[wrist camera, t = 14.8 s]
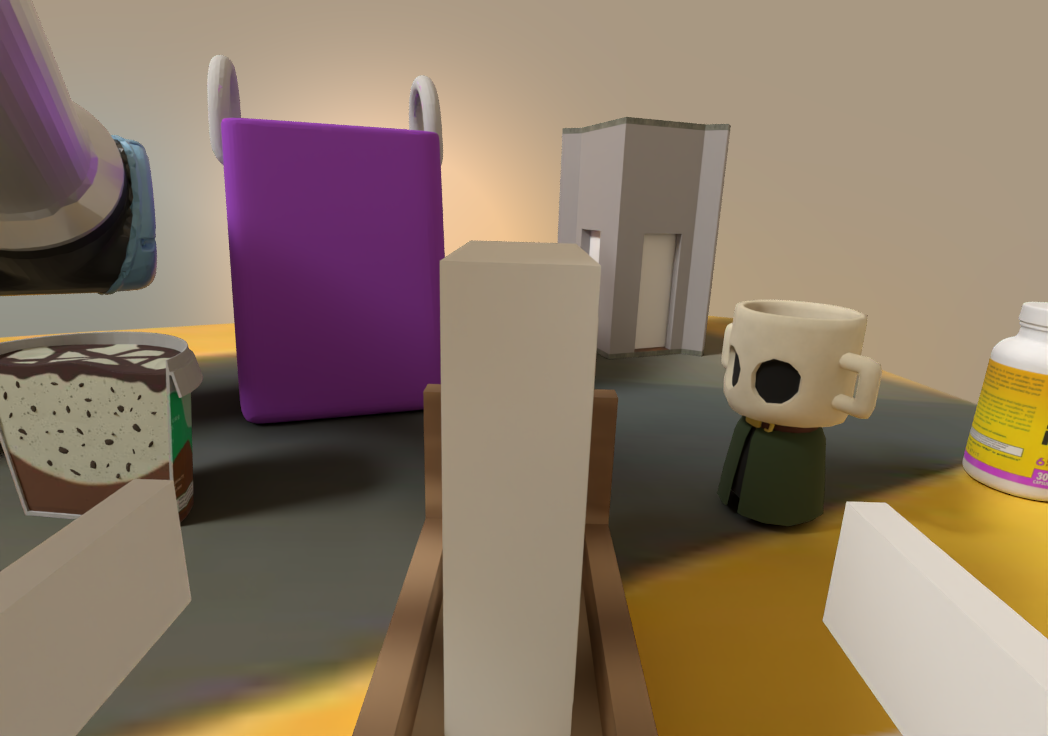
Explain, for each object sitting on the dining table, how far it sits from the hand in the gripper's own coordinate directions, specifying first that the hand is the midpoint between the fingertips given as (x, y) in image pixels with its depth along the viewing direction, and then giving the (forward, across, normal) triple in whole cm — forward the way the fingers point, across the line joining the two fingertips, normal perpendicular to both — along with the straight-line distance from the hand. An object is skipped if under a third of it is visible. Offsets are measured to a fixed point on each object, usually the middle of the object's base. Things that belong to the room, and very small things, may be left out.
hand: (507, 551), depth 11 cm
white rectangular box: (+8, 0, -11) cm, 14 cm away
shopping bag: (+49, -19, -12) cm, 54 cm away
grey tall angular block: (+65, +12, -12) cm, 67 cm away
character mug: (+24, +16, -12) cm, 31 cm away
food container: (+23, -24, -12) cm, 35 cm away
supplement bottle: (+28, +36, -12) cm, 48 cm away
